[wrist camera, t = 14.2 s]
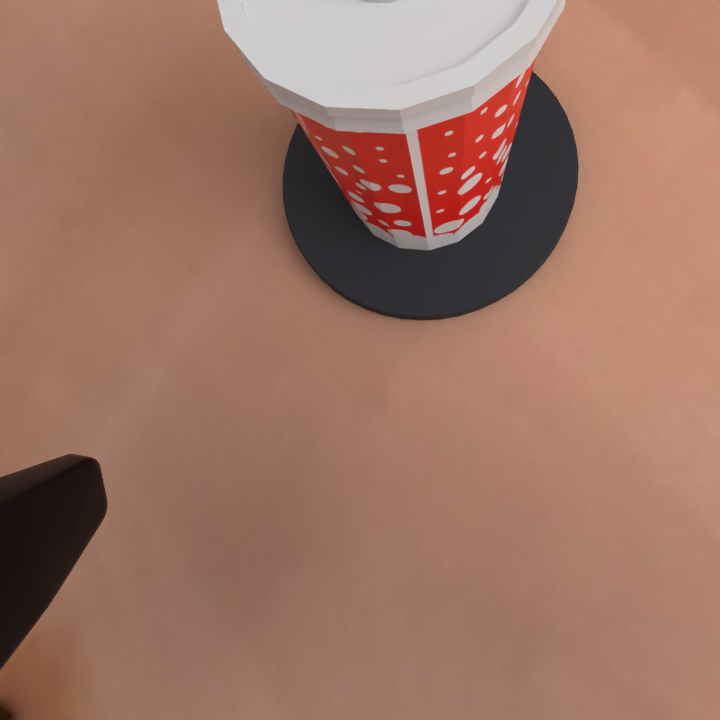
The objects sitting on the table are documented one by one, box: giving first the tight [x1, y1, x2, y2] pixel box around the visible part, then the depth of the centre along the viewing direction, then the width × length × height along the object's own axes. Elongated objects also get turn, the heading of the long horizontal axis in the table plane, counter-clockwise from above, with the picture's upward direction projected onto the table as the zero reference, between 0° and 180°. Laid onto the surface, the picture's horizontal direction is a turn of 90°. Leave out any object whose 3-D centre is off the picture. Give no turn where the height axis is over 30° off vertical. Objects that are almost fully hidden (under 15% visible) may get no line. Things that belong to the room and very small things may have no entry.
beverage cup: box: [217, 0, 565, 250], centre depth 12 cm, size 6×6×14 cm
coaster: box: [283, 71, 578, 320], centre depth 19 cm, size 9×9×1 cm
